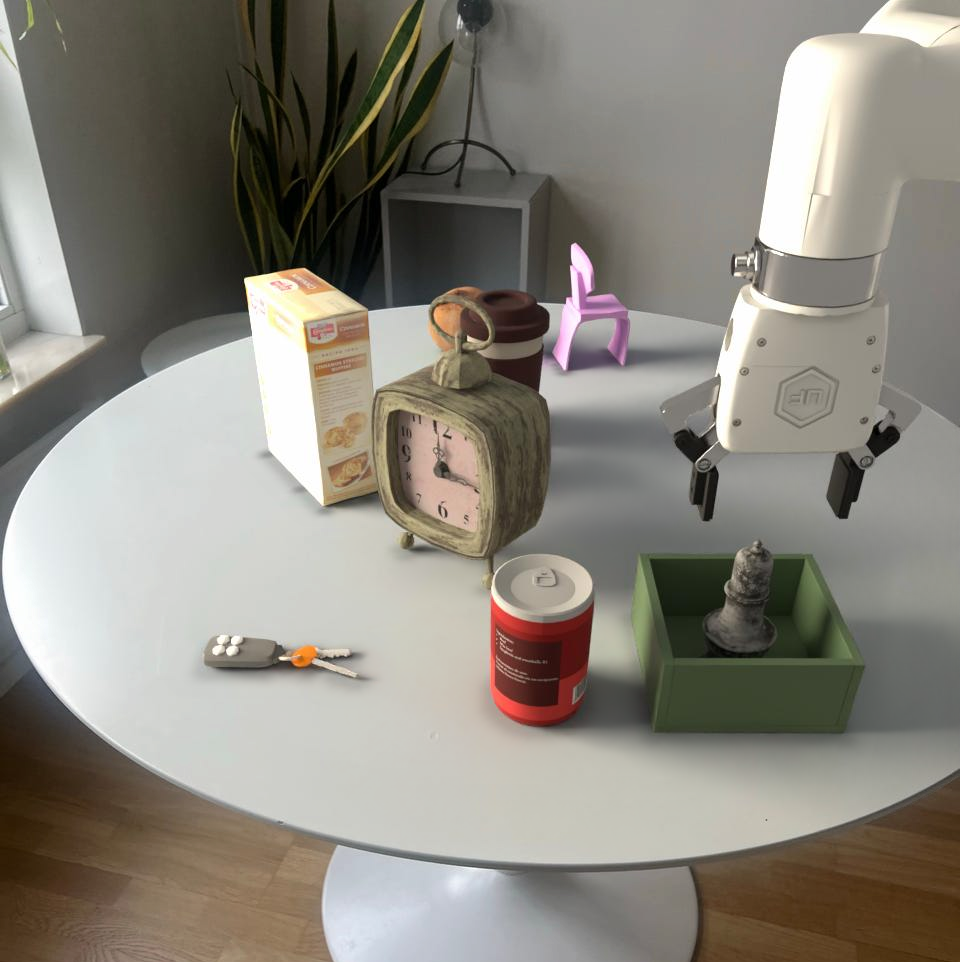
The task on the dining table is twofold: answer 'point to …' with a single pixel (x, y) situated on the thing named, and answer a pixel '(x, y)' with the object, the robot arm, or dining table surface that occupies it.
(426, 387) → the tabletop clock
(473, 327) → the coffee cup
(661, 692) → the green planter box
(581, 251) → the toy chair
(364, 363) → the coffeecake box
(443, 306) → the onion
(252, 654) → the key chain
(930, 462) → the dining table surface
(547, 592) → the canned food
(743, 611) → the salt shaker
